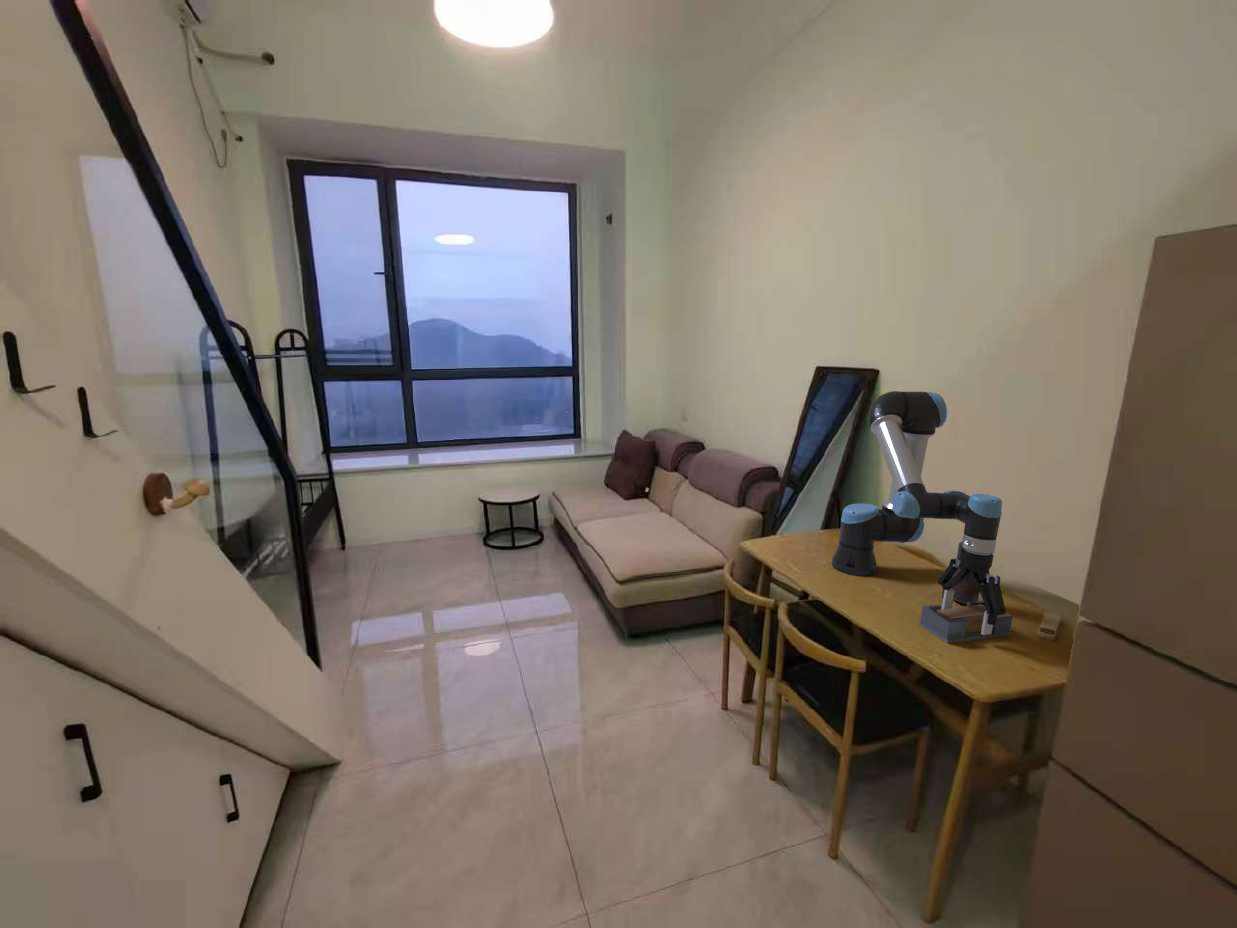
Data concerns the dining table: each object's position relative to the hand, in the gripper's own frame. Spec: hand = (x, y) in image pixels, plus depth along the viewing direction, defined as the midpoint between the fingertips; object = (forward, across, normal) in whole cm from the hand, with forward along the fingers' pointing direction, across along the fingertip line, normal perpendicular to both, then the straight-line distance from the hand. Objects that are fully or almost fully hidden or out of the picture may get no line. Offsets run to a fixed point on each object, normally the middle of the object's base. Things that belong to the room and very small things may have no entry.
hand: (965, 621), depth 150 cm
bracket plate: (+3, 0, 0) cm, 3 cm away
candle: (+3, -15, +15) cm, 21 cm away
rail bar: (+2, 0, 0) cm, 2 cm away
